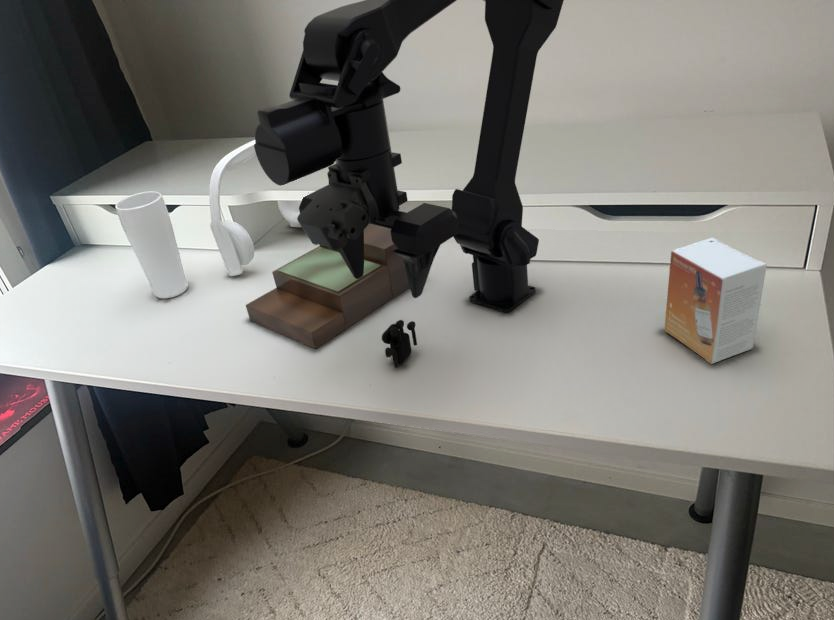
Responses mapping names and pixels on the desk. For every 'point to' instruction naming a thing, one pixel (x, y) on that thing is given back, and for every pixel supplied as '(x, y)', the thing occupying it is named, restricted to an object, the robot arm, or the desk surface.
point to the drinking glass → (153, 242)
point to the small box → (714, 299)
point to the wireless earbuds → (399, 342)
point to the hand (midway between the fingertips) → (387, 286)
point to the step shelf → (330, 290)
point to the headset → (230, 234)
